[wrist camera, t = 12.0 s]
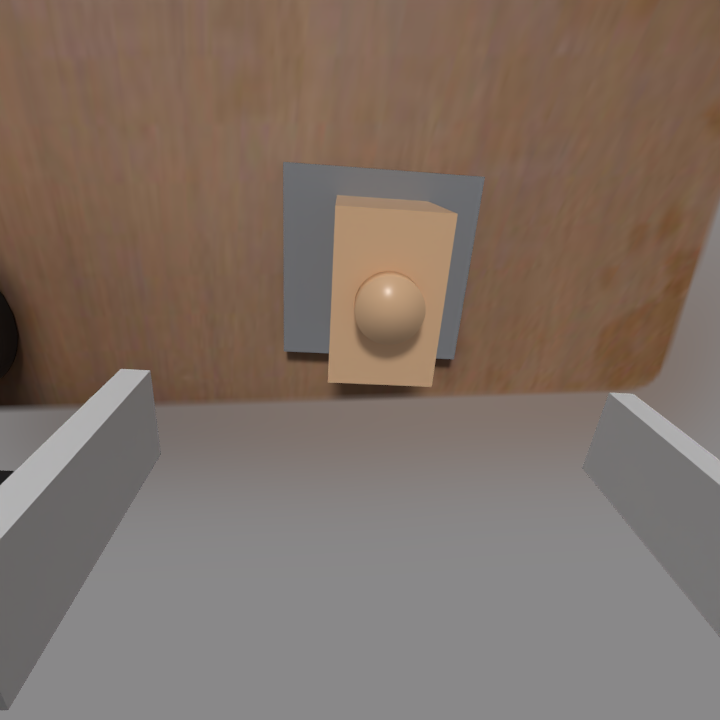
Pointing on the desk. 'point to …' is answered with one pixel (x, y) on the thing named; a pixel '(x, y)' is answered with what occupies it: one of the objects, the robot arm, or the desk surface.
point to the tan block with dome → (388, 289)
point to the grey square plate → (316, 241)
